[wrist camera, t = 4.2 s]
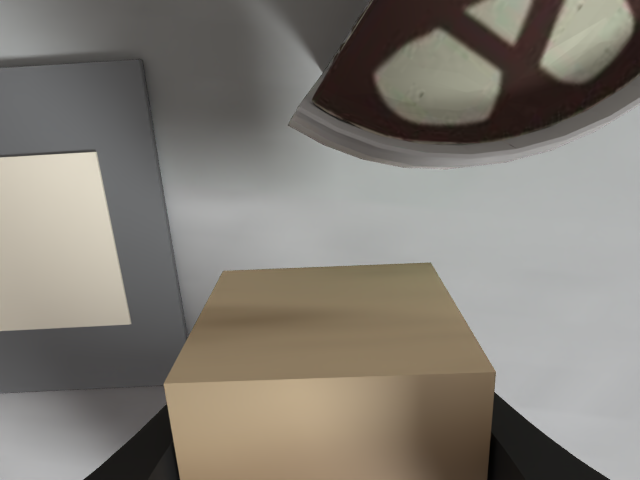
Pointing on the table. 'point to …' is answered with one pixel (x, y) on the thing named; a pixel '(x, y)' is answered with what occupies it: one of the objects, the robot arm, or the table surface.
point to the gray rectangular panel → (83, 232)
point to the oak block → (331, 379)
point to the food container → (474, 80)
